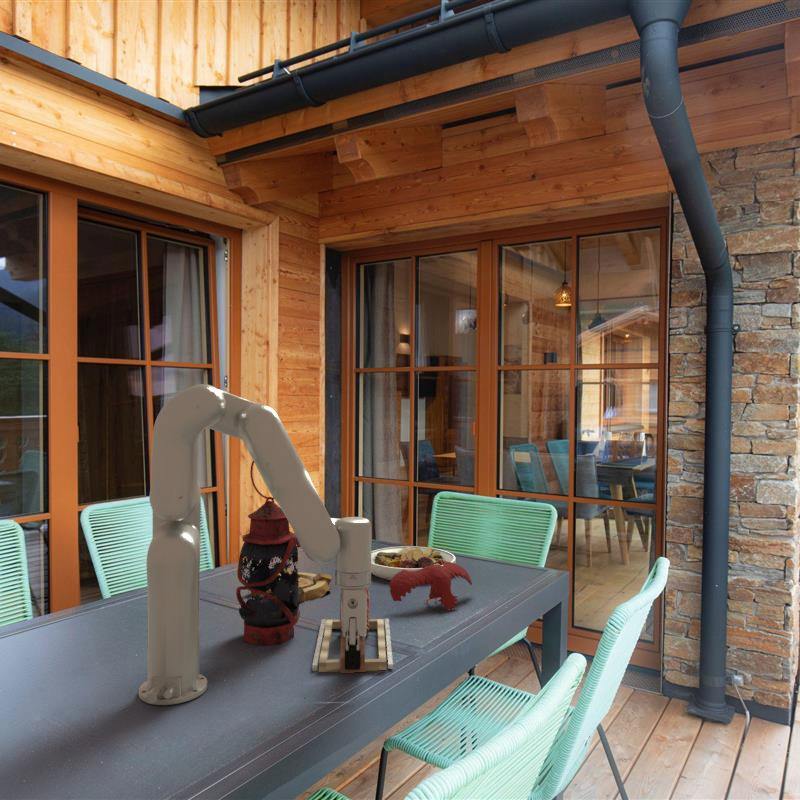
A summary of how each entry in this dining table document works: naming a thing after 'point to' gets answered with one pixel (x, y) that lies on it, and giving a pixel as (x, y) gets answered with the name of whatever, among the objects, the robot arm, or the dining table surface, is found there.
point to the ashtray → (309, 585)
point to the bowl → (406, 560)
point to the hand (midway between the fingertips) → (352, 664)
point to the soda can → (367, 613)
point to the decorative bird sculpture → (429, 574)
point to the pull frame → (365, 664)
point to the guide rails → (320, 640)
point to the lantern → (269, 576)
